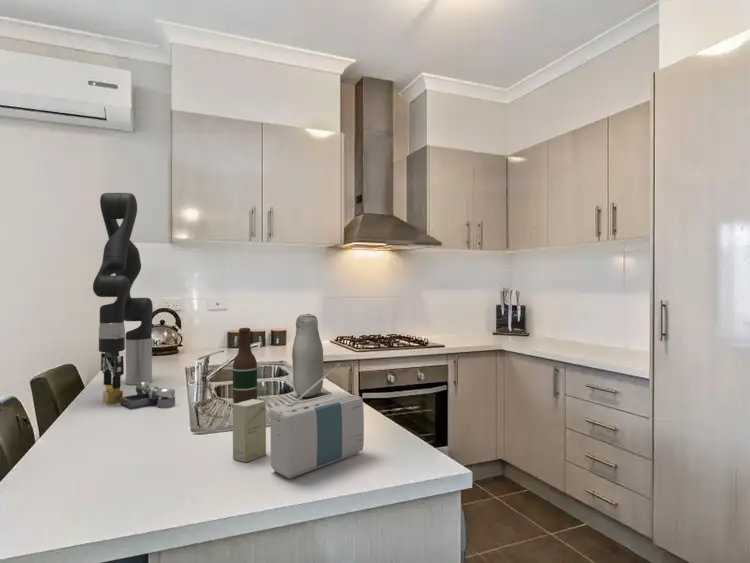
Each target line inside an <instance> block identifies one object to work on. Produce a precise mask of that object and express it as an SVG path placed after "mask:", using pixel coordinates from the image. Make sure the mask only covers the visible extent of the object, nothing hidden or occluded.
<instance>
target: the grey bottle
mask: <svg viewBox="0 0 750 563" xmlns="http://www.w3.org/2000/svg"><path fill="white" fill-rule="evenodd" d="M318 321H319V320H318V318H317V316H316V315H314V314H312V313H311V314H310V313H305V314H300V315H299V316H297V317H296V322H295V336H294V340H293V345H292V351H291V358H292V361H291V362H292V381H293V382H292V384H293V389H294V391H295V393H296V394H297V396H299V397H300V396H301V395H303V394H304V393H305V392H306V391H307V390H308V389H310V388H311V387H312V386H313V385H314V384H315V383H317V382H318V381H319V380H320V379H321V378H323V377H324V348H323V344H322V343H323V342H322V340H321V337H320V332H319V328H318V327H319V322H318ZM323 386H324V379H323V380H322V381H321V382H320V383H319V384H317V385H316V386H315V387H314V388H313V389H312V390H310V391H309V392H308V393H307V394H306V395H305V396H303V397H302V398H312V397H313V398H314V397H316V396H317V395H319V394H320V392H321V391H322V389H323Z"/></svg>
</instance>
